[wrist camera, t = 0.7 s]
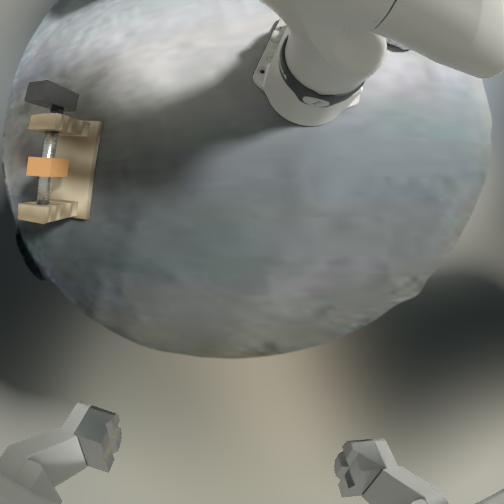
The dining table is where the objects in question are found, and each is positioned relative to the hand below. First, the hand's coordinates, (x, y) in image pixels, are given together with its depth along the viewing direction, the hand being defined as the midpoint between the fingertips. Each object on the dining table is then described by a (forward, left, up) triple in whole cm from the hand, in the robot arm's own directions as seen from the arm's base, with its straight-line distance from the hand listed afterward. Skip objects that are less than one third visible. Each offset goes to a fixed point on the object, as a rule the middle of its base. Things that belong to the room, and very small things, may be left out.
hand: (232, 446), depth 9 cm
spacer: (-7, -34, -38) cm, 51 cm away
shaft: (-9, -34, -38) cm, 52 cm away
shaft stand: (-7, -34, -44) cm, 56 cm away
